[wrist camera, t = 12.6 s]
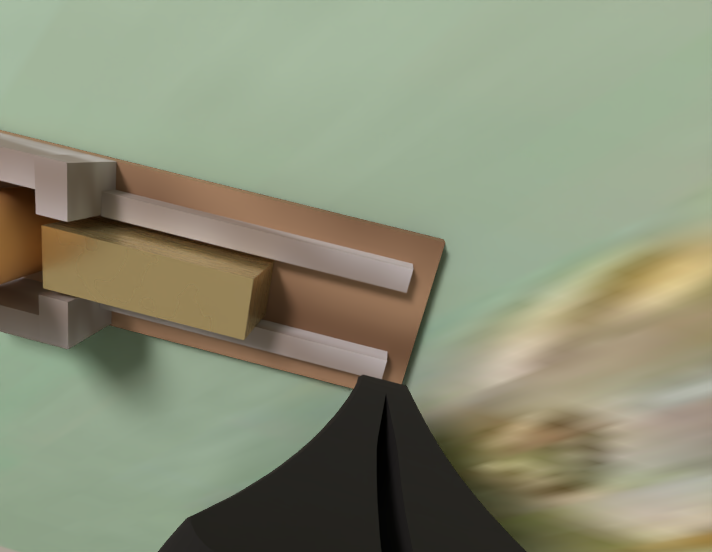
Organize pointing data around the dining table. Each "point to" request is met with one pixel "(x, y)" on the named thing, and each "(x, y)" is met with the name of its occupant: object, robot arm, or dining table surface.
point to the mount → (242, 234)
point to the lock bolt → (157, 274)
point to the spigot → (20, 233)
